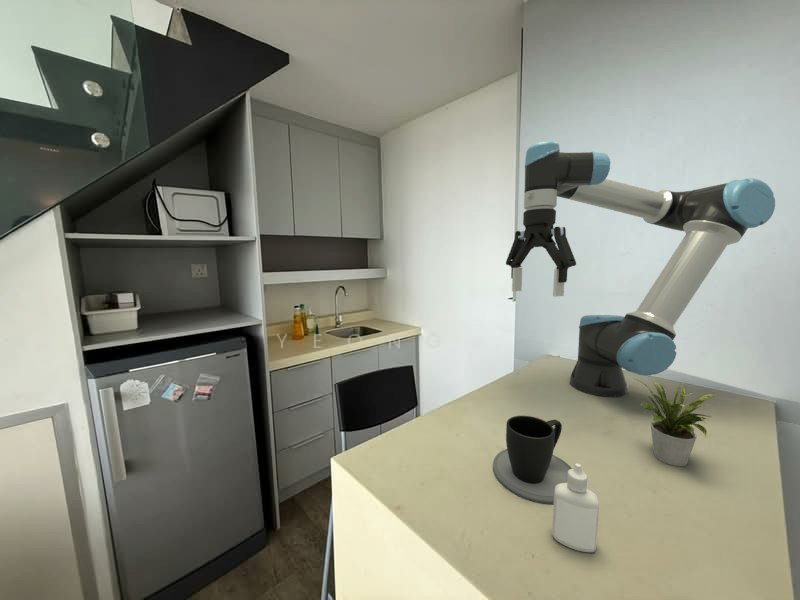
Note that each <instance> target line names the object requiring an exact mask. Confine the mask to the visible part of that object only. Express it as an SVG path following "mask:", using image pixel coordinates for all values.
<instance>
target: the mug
mask: <svg viewBox="0 0 800 600" xmlns="http://www.w3.org/2000/svg"><path fill="white" fill-rule="evenodd" d="M562 427H563V425H562V423H561V422H560V421H559V420H558V419H551V420H547V421H546V420H543V419H541V418H539V417H535V416H532V415H531V416H530V415H515V416H512V417H510V418H508V419H507V421H506V427H505V429H506V431H505V432H506V433H505V441H506V449H507V451H508V456H509V460H510V463H511V467H512V471H513V474H514V475H515V476H516V477H517V478H518V479H519V480H521V481H523V482H526V483H530V484H537V483H540V482H542V481H543V480H544V477H545V474H546V472H547V470H548V467H549V465H550V462H551V459H552V455H554V449H555V448H556V445H557V444H558V441H559V439H560V436H561V434H562Z"/></svg>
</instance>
